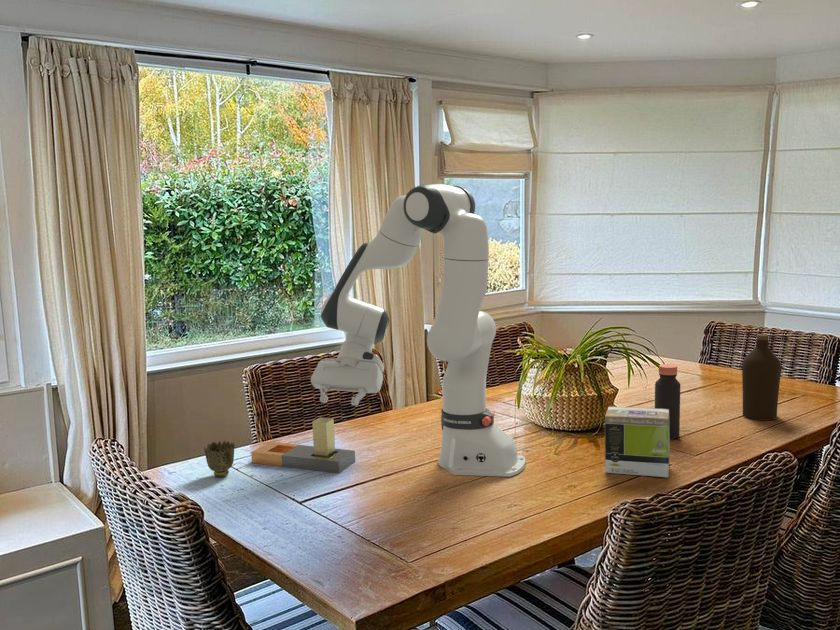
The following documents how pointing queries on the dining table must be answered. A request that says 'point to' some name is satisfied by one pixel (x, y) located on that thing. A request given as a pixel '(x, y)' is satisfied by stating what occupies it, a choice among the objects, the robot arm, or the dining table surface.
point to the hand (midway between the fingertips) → (338, 403)
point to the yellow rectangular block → (323, 437)
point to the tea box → (637, 441)
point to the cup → (220, 457)
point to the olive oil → (761, 381)
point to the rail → (302, 457)
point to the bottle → (669, 396)
